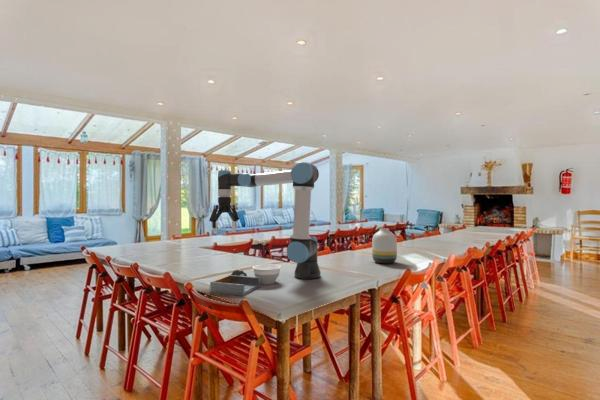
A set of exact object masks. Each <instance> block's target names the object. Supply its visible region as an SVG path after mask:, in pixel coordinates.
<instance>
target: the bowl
mask: <svg viewBox="0 0 600 400" xmlns="http://www.w3.org/2000/svg"><path fill="white" fill-rule="evenodd" d="M251 268H252V269H253V273H254V277H260V285H269V284H270V285H271V284H274V283H276V280H277V279H278V277H279V275H280V271H281V270H280V269H282V265H280V264H276V263H275V264H272V263H264V264H256V265H253V266H252V267H251Z"/></svg>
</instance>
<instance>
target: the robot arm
mask: <svg viewBox="0 0 600 400" xmlns="http://www.w3.org/2000/svg"><path fill="white" fill-rule="evenodd" d="M319 172H320V171H319V169H318V167H317V166H315V165H314V164H312V163H309V162H307V161H298V162H296V163H295V164H294V165H293V166H292V168H291V169H290V170H281V171H273V172H263V173H252V174H249V173H247V172H239V173H232V172H231V170H230V169H229V170H228V169H227V170H226V169H224V170H223V169H221V170H218V171H217V196H218V197H217V203H218V204H214V205H213V210H212V212H211V215H210V217H209V219H208V220H209V222H210V223H212V224H211V225H212V229H213V231H212V233H213V234H215V235H217V234H218V222H217V221H218V220H219V218H220V216H221V215H222V214H223V213H224V214H225V213H227V215H229V217H230V218H231V220H232V221H231V233H236V232H237V229H236V228H237V222H238V221H239V220H240V217H239V214H238V212H237V210H236V205H235V204H231V203H232V197H231V196H232V187H244V188H245V187H246V188H255V187H264V186H274V185H284V184H292V188H293V189H294V209H293V210H294V211H293V228H292V229H293V230H292V235H290V236H289V244H288V246H287V248H286V255H287V257H288V259H289V260H290V261H291V262H292V263H295V264H296V266H295V270H294V277H295V278H296V279H306V280H307V279H308V280H309V279H318V278H320V277H321V270H320V266H319V264H318V238H317V237H316V236H310V219H311V216H310V215H311V197H312V190H314V189H315V182H317V181H318V179H319V178H320V177H319V176H320V173H319Z"/></svg>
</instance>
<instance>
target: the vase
mask: <svg viewBox="0 0 600 400" xmlns="http://www.w3.org/2000/svg"><path fill="white" fill-rule="evenodd" d="M397 239H398V238H397V237H396V235H395V234H394V233H393V232H391V231H390V228H388V227H387V228H385V227H384V228H383V227H382V228H379V230H378V231H377V232H375V233H374V234H373V236H372V240H371V241H372V242H371V249H372V251H371V253H372V254H371V255H372V259H373V261H374V262H375V263H377V264H386V265H387V264H393V263H395V262H396V261H397V256H398V255H397V254H398V240H397Z"/></svg>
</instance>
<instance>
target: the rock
mask: <svg viewBox="0 0 600 400" xmlns="http://www.w3.org/2000/svg"><path fill="white" fill-rule="evenodd" d="M230 275H236V276H248V275H247V272H245V271H243V270H238V269H237V270H234V271H232V273H230Z"/></svg>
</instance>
